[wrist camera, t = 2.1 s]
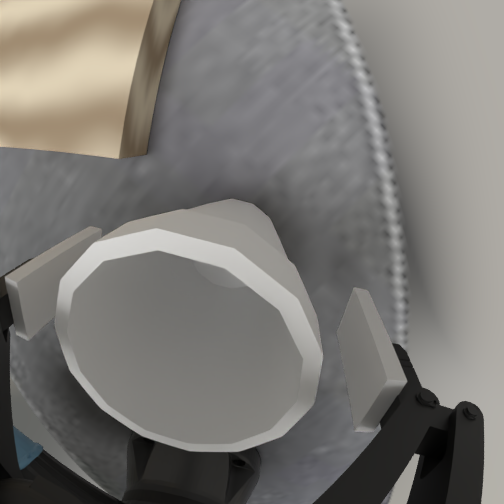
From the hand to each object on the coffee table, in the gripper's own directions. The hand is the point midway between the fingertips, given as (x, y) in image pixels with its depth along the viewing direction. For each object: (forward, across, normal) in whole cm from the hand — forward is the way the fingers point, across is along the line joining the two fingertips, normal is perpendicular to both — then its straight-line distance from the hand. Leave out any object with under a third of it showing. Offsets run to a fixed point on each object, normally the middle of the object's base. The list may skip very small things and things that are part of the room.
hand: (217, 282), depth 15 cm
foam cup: (+7, 0, 0) cm, 7 cm away
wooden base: (+7, +15, -12) cm, 21 cm away
